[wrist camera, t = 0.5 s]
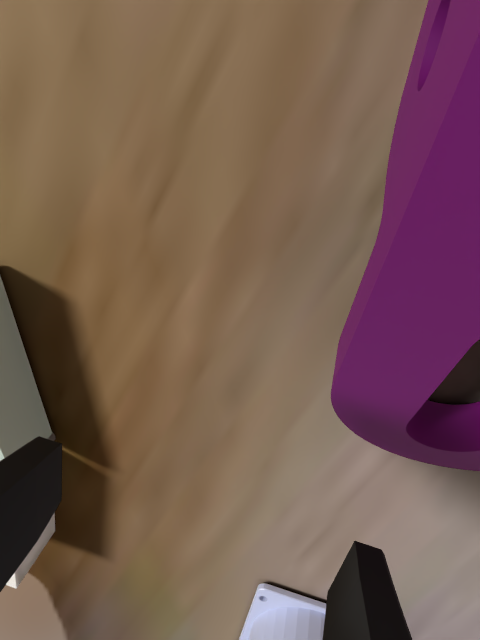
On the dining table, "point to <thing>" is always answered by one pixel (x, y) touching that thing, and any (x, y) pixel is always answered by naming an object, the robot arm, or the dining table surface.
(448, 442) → the mounting bracket
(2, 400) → the door
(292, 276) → the dining table surface
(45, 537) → the cabinet
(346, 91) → the dining table surface
